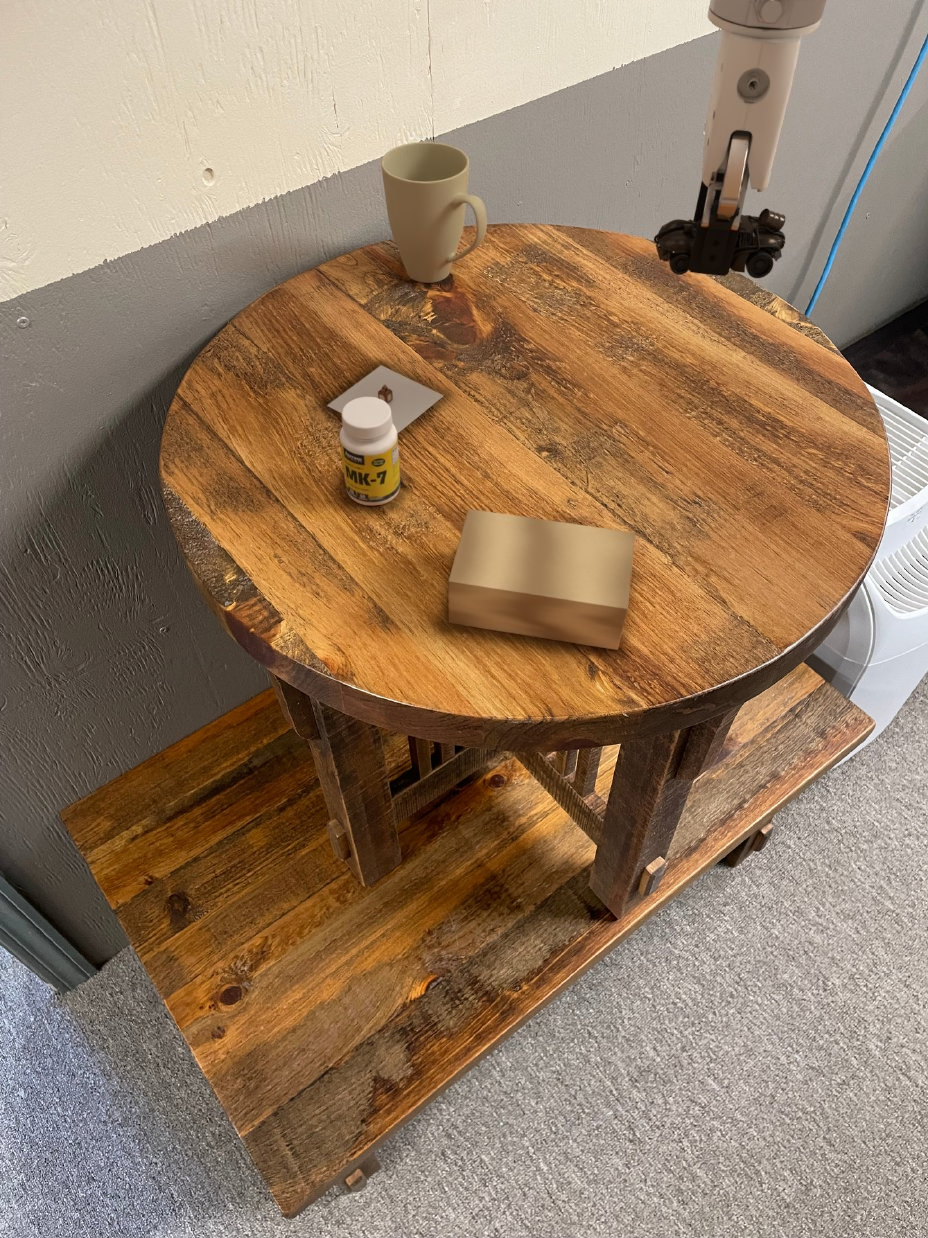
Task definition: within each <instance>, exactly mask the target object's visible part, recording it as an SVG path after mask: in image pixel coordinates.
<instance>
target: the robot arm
mask: <svg viewBox="0 0 928 1238" xmlns="http://www.w3.org/2000/svg"><path fill="white" fill-rule="evenodd" d="M826 4H827V0H709V5H708V10H707V19H708V21H709V22H711V24H712V25H713V26H715V27H717V28H719V29H720V30H721V36H720V41H719V44H718V51H717V56H716V61H715V67H714V72H713V77H712V82H711V88H710V94H709V100H708V104H707V105H708V107H707V113H706V121H705V128H704V136H703V137H704V139H703V150H702V151H703V152H702V169H701V182H700V186H699V190H698V191H699V192H698V197H697V201H696V205H695V209H694V215H693V219H692V220H693V221H694V222H696V223H698V224H697V229H696V233H695V238H694V243H693V247H692V252H691V257H690V261H689V268H688V269H689V270H688V272H690V273H692V274H693V273H694V274H702V275H709V276H710V275H712V276H720V277H725V276H727V275H729V273H730V270H731V269H730V266H731V262H732V258H733V254H734V250H735V246H736V242H737V238H738V235H739V231H740V225H739V223H740V218H741V215H742V213H743V208H744V203H745V199H746V194H747V191H748V184H749V183H750V189H751V190H756V191H757V193H762V192H764V191H765V190H766V189H767V188H768V186H769V183H770V178H771V174H772V169H773V166H774V161H775V157H776V153H777V149H778V145H779V140H780V136H781V133H782V128H783V124H784V121H785V120H784V119H785V116H786V112H787V108H788V104H789V99H790V96H791V91H792V86H793V82H794V78H795V74H796V69H797V64H798V59H799V53H800V48H801V42H802V37H804V36H808V35H810V34H812V33H814V32H816V31H817V30H818V29H819V28H820V26H821V22H822V18H823V14H824V10H825V8H826ZM713 204H714V205H713Z"/></svg>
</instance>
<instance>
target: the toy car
mask: <svg viewBox="0 0 928 1238" xmlns="http://www.w3.org/2000/svg"><path fill="white" fill-rule="evenodd" d="M713 205H714V204H713ZM785 223H786V215H784V214H781V213H779V212H776V211H773V210H770V209H769V208H763V209H762V210H761V212H760V213H759V215H758V216H756V215H751V214H748V215H747V214H741V218H740V223H739V225H740V231H739V235H738V238H737V242H736V246H735V250H734V254H733V258H732V262H731V266H730V270H731V271H733V272H736V273H746V272H747V274H748V275H749V276H750V277H751V278H753V279H762V278H764V277H766V276H768V275H769V274H770V273H771V272H772V270H773V268H774V261H775V262H779V261H778V260H779V259H781V258H782V257H783V255H782V250H783V249H784V247H785V245H786V235H785V233H784V232H783V231H782V229H783V227H784V226H785ZM697 224H698V223H696V222H694V221H693V219H691V218H690V219H688V220H686V219H682V218H681V219H680V218H679V219H676V218H675V219H673V220H671V221H669V222H667V223H665V224H663V225H661V226H660V229H659V230H658V233H657V234H655V236H654V237H653V242H654V243H655V248H656V252H657V255H658V259H659V261H663V262H666V263H667V262H668V266H669V268H670V270H671V273H672V274H675V275H677V276H682V275H685V274H687V272H689V269H688V268H689V261H690V257H691V252H692V247H693V243H694V238H695V233H696V229H697ZM643 226H644V225H643ZM643 226H642V227H643Z"/></svg>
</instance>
